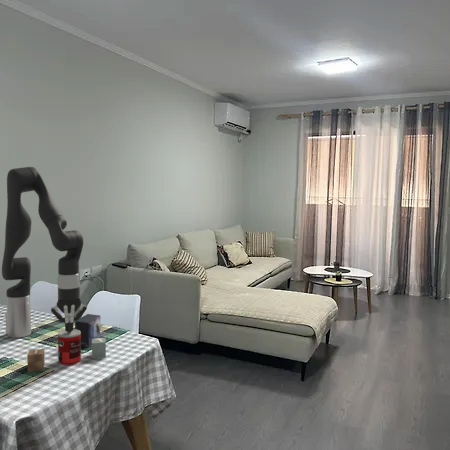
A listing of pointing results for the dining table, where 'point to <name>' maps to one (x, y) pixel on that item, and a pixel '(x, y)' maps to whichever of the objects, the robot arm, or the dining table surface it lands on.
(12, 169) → the robot arm
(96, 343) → the slate digit block
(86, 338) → the small box
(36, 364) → the walnut digit block
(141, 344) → the dining table surface
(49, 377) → the dining table surface
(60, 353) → the canned food
